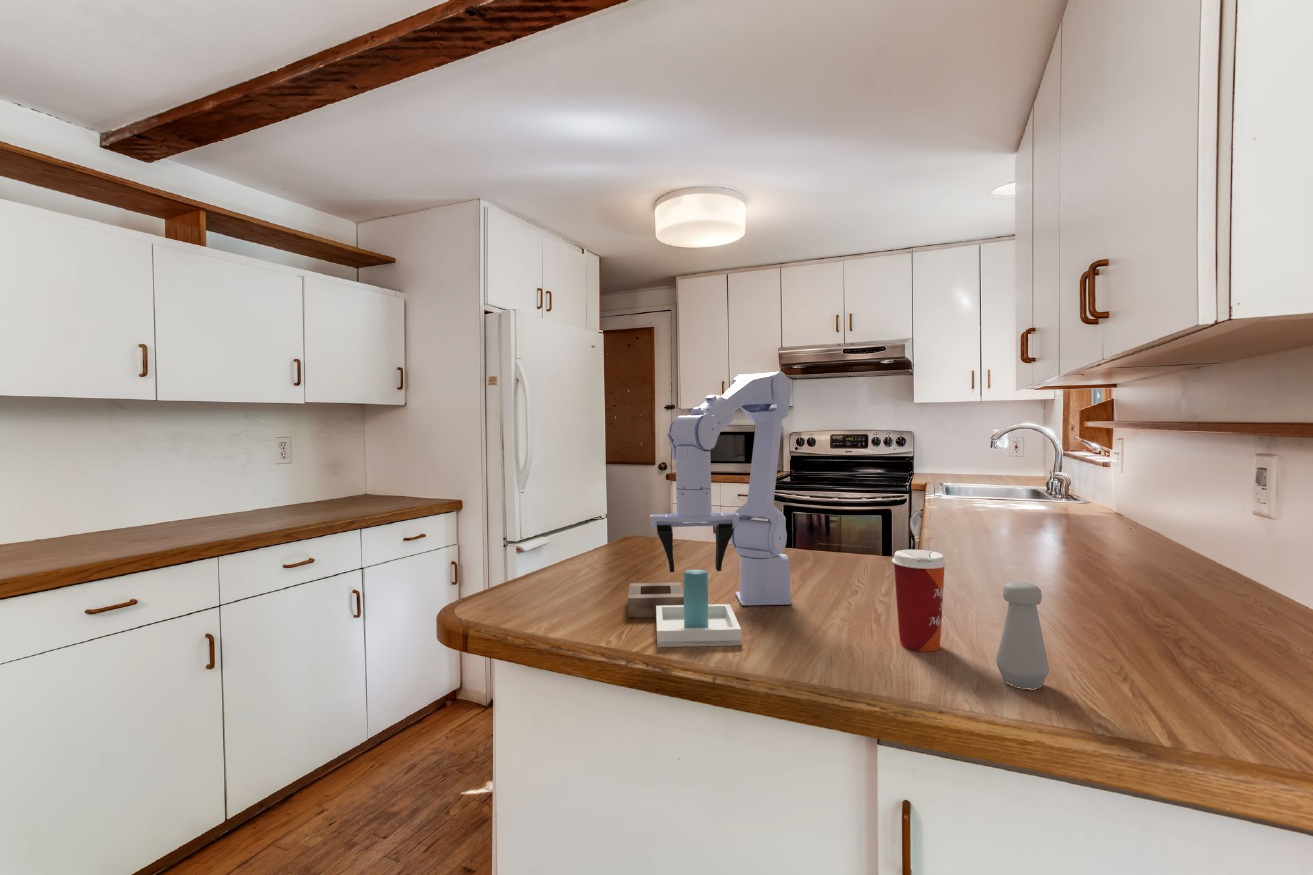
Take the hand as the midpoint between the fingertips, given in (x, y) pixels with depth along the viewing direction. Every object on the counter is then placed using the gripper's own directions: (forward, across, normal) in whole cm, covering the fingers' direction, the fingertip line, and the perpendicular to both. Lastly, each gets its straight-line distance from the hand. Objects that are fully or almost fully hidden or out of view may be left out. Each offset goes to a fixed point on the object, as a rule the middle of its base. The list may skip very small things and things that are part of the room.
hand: (695, 570), depth 99 cm
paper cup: (+10, +34, -8) cm, 36 cm away
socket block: (+10, -6, +13) cm, 18 cm away
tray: (+10, 0, 0) cm, 10 cm away
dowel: (+9, 0, 0) cm, 9 cm away
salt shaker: (+10, +40, -22) cm, 47 cm away
